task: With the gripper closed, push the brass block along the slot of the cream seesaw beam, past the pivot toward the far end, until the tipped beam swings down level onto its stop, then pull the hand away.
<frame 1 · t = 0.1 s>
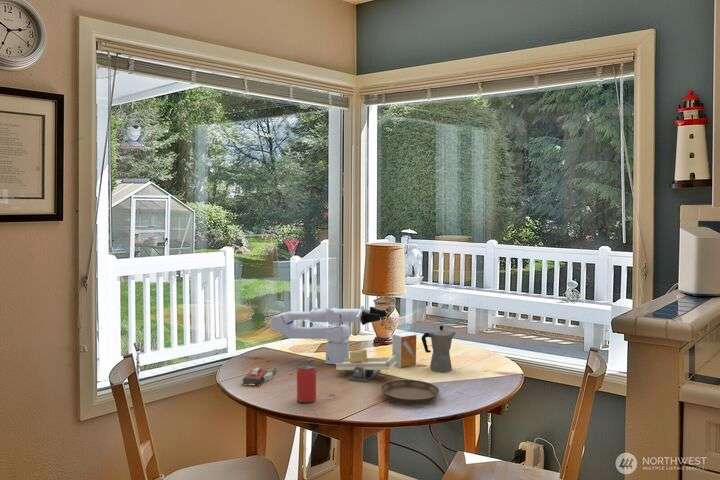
hand: (383, 315, 245), 22 cm above the table, tool horizontal, fingers open, 7 cm apart
small box: (404, 365, 251), on the table
beam: (366, 362, 236), point 5 cm above the table, hinge at -6.6°, touching brass block
brass block: (359, 363, 237), point 4 cm above the table, tilted 7°, touching beam
coffeepot: (438, 369, 245), on the table
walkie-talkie: (260, 379, 233), on the table
beer can: (306, 400, 208), on the table
plant saucer: (409, 398, 212), on the table
pivot stand: (364, 375, 236), on the table
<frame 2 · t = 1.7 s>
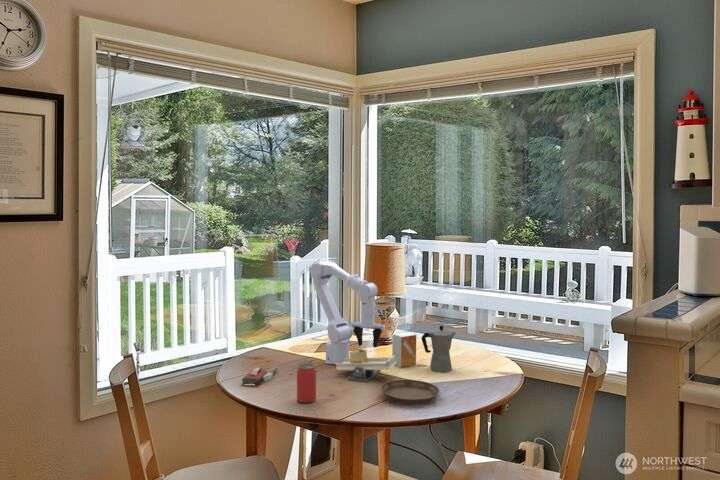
hand: (367, 346, 245), 9 cm above the table, tool pointing down, fingers open, 6 cm apart
nothing on the table moved.
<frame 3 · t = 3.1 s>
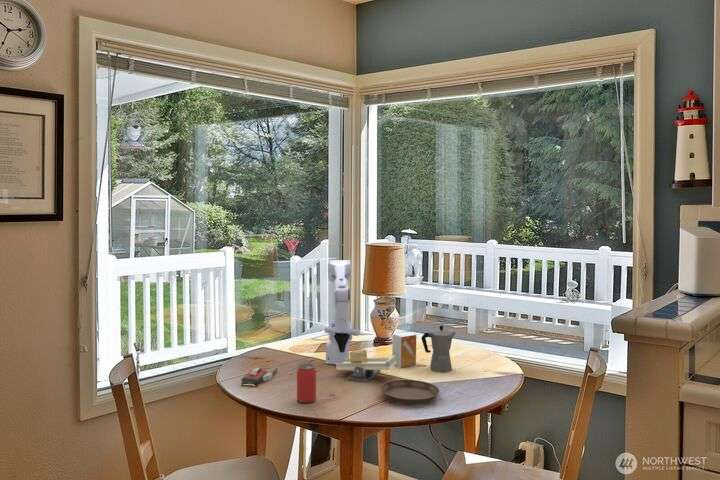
hand: (342, 351, 239), 8 cm above the table, tool pointing down, fingers closed
nothing on the table moved.
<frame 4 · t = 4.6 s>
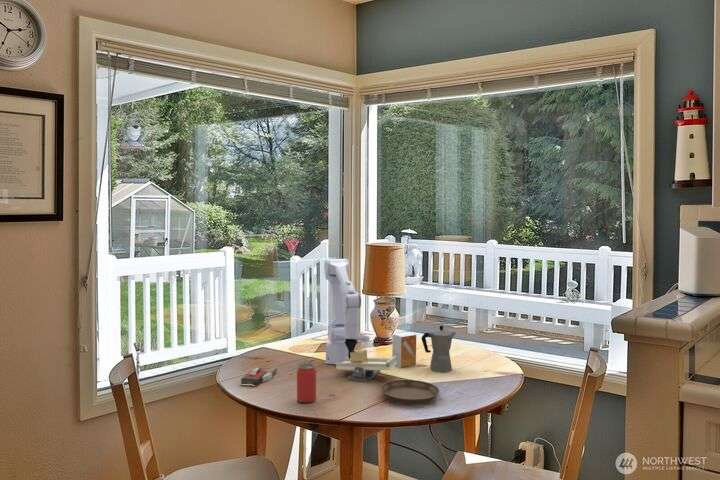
hand: (351, 357, 238), 6 cm above the table, tool pointing down, fingers closed, pressing on brass block
beam: (366, 362, 236), point 5 cm above the table, hinge at -5.3°, touching brass block
brass block: (359, 363, 237), point 5 cm above the table, tilted 5°, touching beam, gripper
everything else where it was.
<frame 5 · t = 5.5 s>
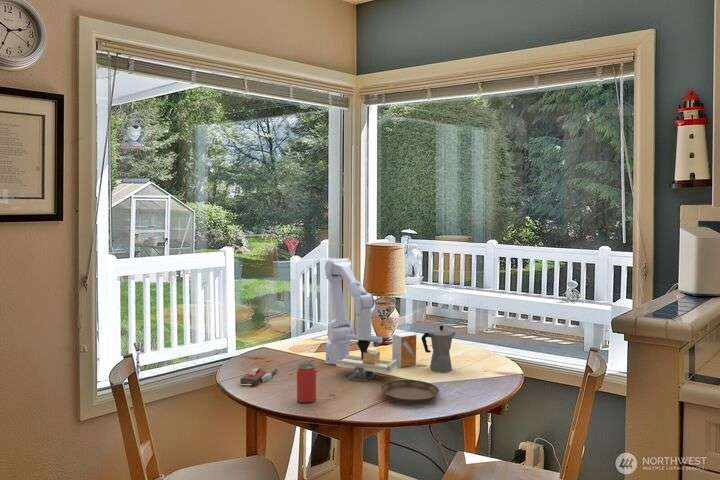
hand: (363, 359, 236), 7 cm above the table, tool pointing down, fingers closed, pressing on brass block
beam: (366, 363, 236), point 5 cm above the table, hinge at 1.3°, touching brass block
brass block: (370, 364, 235), point 5 cm above the table, touching beam, gripper
everything else where it was.
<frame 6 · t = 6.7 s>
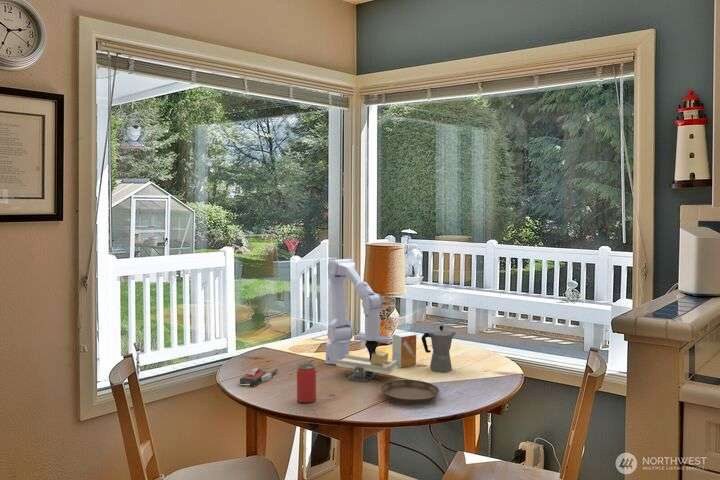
hand: (372, 360, 234), 7 cm above the table, tool pointing down, fingers closed, pressing on brass block
beam: (366, 363, 236), point 5 cm above the table, hinge at 2.3°, touching brass block
brass block: (378, 365, 234), point 5 cm above the table, tilted 7°, touching beam, gripper
everything else where it was.
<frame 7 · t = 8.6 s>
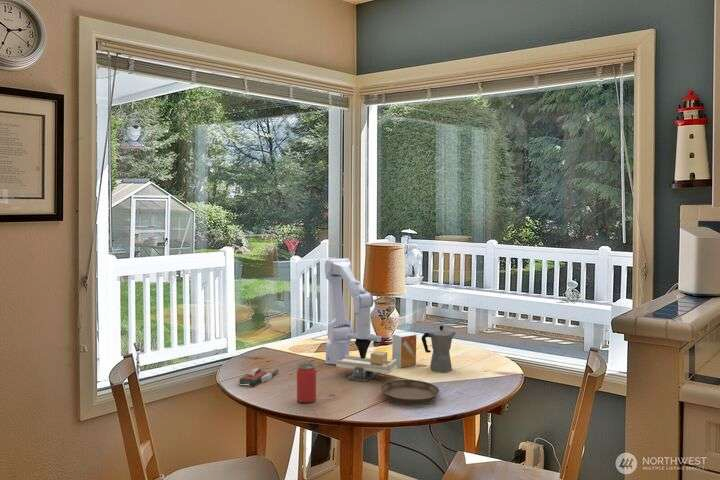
hand: (363, 358, 236), 7 cm above the table, tool pointing down, fingers closed
beam: (366, 363, 236), point 5 cm above the table, hinge at 0.7°, touching brass block
brass block: (378, 365, 234), point 5 cm above the table, touching beam
everything else where it was.
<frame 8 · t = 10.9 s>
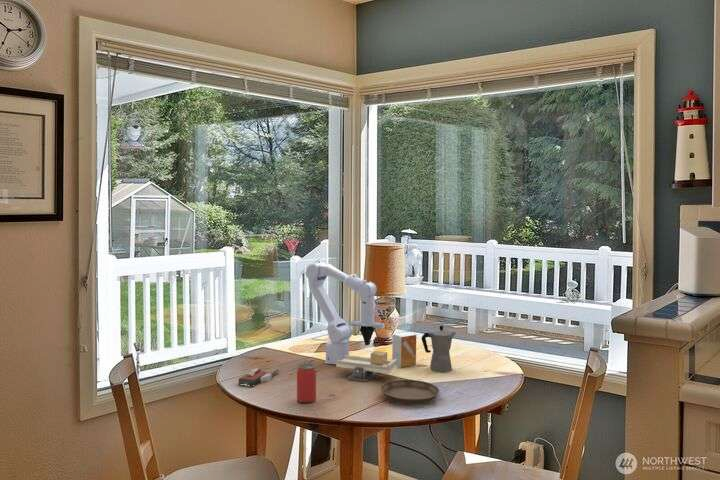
hand: (367, 344, 247), 9 cm above the table, tool pointing down, fingers closed
at the end: beam at +1° (first picture: -7°); brass block inside the target area on the beam (1.4 cm from its centre), point 1.1 cm above the beam's base; brass block tilted 1° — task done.
